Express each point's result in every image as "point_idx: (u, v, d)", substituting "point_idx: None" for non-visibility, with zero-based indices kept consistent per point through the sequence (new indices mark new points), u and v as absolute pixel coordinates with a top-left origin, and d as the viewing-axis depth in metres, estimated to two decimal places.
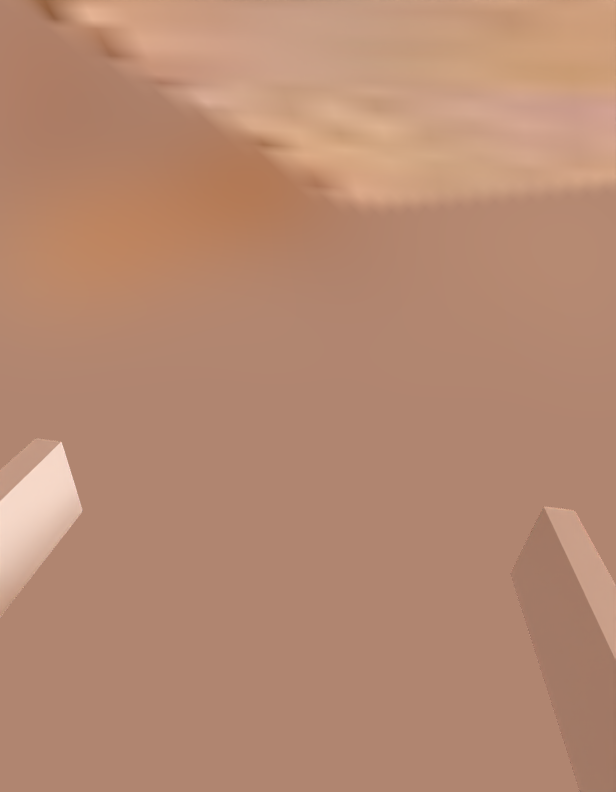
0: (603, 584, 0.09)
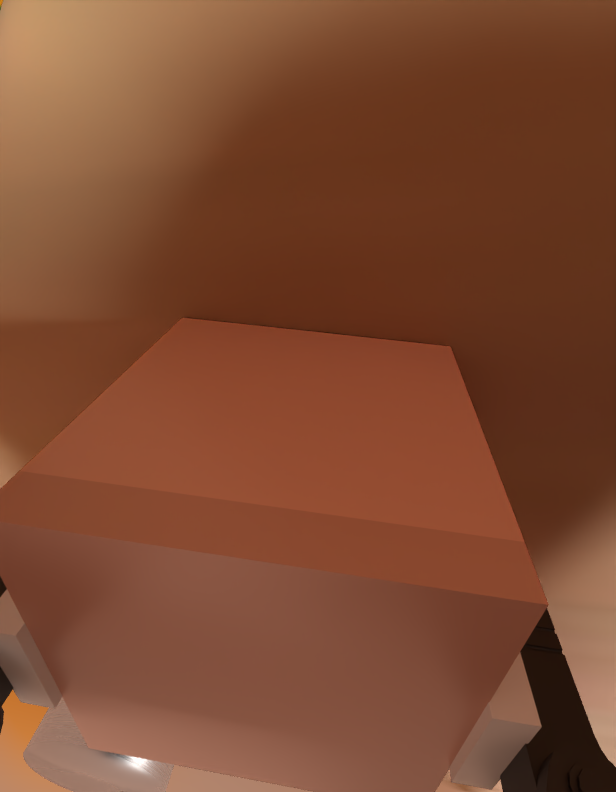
0: None
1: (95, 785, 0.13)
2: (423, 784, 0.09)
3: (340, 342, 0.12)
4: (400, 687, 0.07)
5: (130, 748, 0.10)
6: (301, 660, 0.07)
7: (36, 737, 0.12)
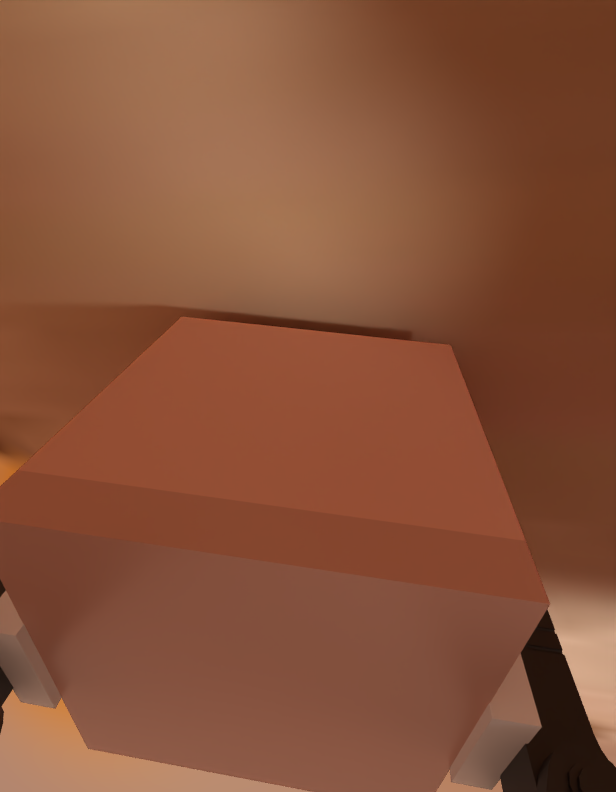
0: None
1: None
2: (149, 756, 0.10)
3: None
4: (310, 766, 0.09)
5: (23, 572, 0.07)
6: (332, 736, 0.08)
7: None
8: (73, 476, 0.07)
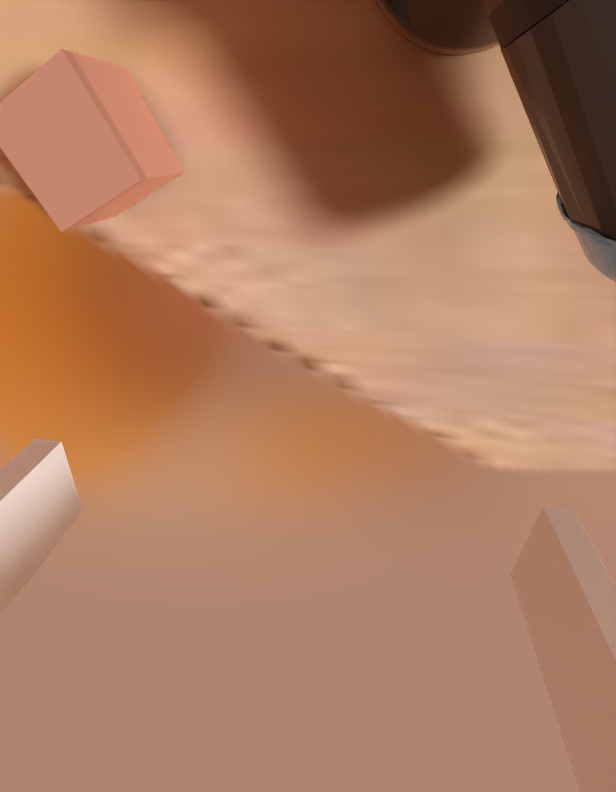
0: (603, 584, 0.09)
1: None
2: (0, 141, 0.29)
3: (138, 200, 0.37)
4: (49, 187, 0.30)
5: (54, 68, 0.27)
6: (68, 180, 0.30)
7: None
8: (81, 68, 0.27)
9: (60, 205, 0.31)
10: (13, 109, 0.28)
